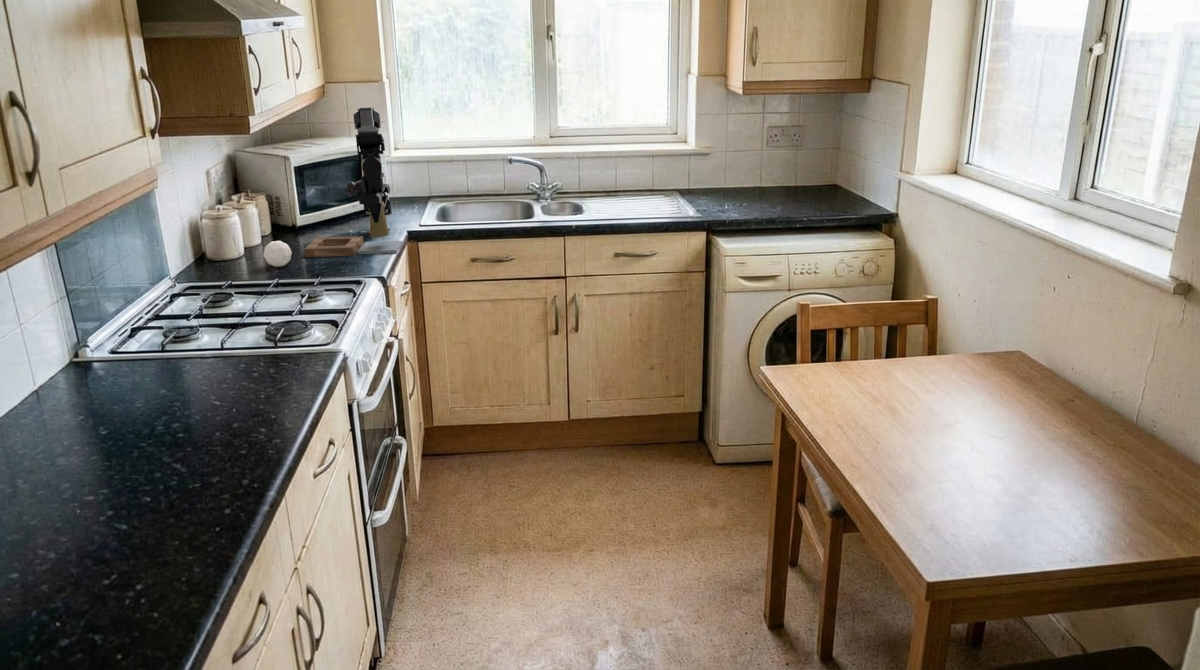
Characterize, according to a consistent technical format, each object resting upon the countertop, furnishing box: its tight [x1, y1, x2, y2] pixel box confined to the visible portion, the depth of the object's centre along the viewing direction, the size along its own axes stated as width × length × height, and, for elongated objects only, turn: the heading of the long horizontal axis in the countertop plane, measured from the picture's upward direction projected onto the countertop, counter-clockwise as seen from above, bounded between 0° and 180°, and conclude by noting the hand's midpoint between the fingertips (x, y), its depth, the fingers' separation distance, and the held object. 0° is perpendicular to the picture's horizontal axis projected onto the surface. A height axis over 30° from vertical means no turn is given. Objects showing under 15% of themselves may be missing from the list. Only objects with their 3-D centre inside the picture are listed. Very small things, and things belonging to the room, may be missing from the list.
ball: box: [263, 240, 292, 268], centre depth 255 cm, size 8×8×8 cm
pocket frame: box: [303, 235, 365, 258], centre depth 272 cm, size 15×15×2 cm
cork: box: [368, 202, 390, 238], centre depth 270 cm, size 6×6×11 cm
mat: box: [357, 240, 404, 255], centre depth 273 cm, size 12×12×1 cm
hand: (377, 220), depth 270 cm, fingers closed on cork, 4 cm apart
